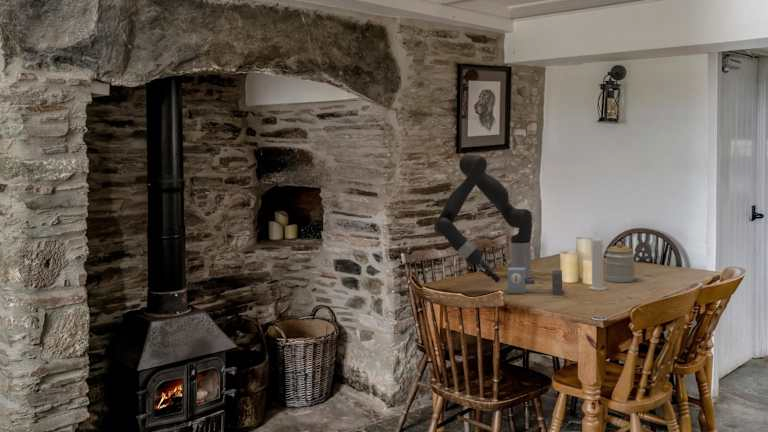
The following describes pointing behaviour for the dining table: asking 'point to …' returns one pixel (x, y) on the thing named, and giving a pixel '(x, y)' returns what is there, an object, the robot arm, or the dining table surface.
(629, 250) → the jar
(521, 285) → the grey box with emblem
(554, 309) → the dining table surface
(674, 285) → the dining table surface
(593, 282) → the candle
